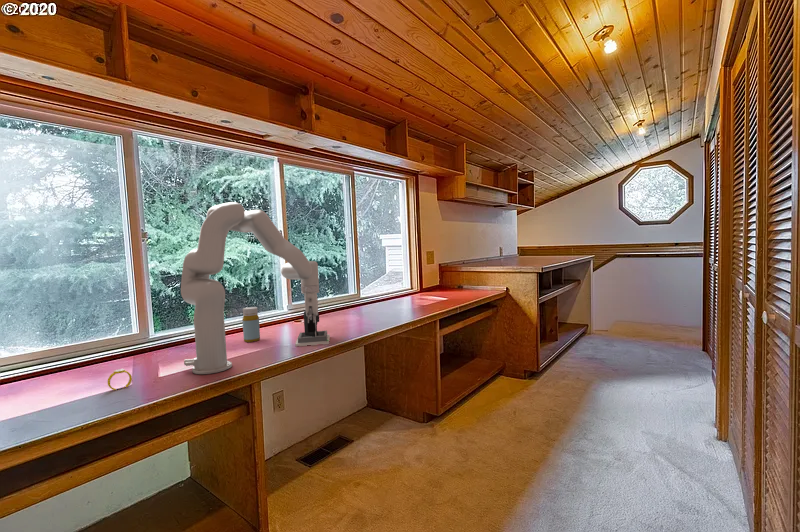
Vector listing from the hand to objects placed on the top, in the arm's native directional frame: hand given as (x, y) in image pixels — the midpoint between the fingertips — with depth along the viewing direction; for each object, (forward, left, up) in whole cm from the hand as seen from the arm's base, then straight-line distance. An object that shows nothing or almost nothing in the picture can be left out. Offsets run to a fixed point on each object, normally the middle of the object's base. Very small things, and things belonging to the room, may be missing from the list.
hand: (312, 330), depth 173 cm
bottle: (-28, +12, -5) cm, 31 cm away
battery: (0, 0, -3) cm, 3 cm away
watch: (-56, -43, -5) cm, 71 cm away
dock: (0, 0, -5) cm, 5 cm away
